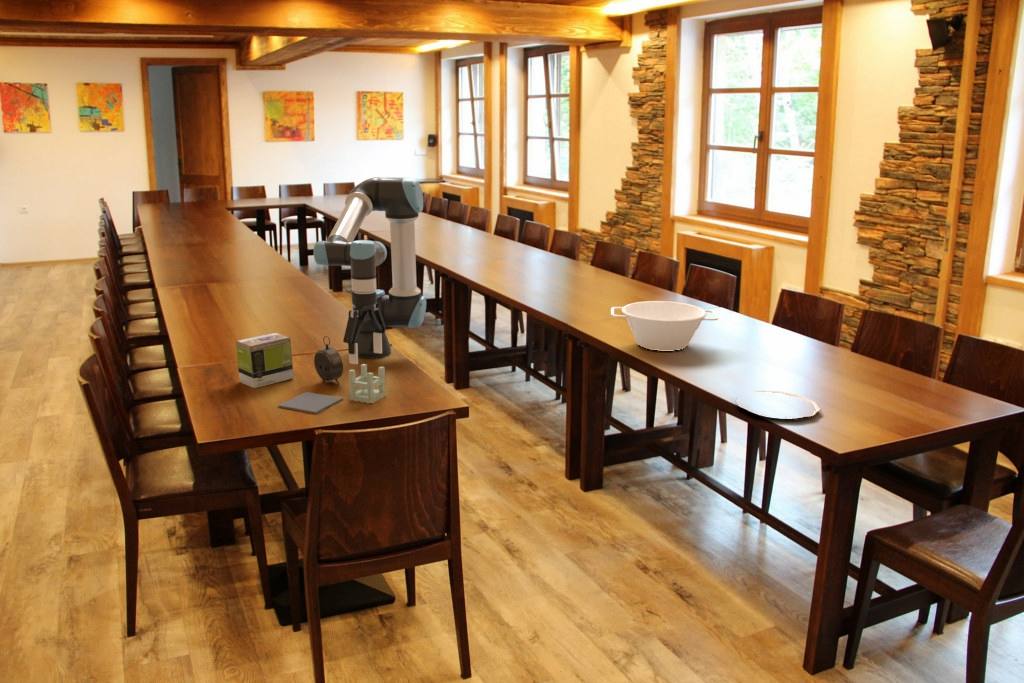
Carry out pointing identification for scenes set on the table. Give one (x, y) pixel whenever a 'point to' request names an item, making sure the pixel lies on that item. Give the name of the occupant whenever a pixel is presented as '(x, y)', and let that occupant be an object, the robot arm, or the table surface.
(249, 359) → the tea box
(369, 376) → the stool
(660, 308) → the pot
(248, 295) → the table surface
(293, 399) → the mat
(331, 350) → the alarm clock
